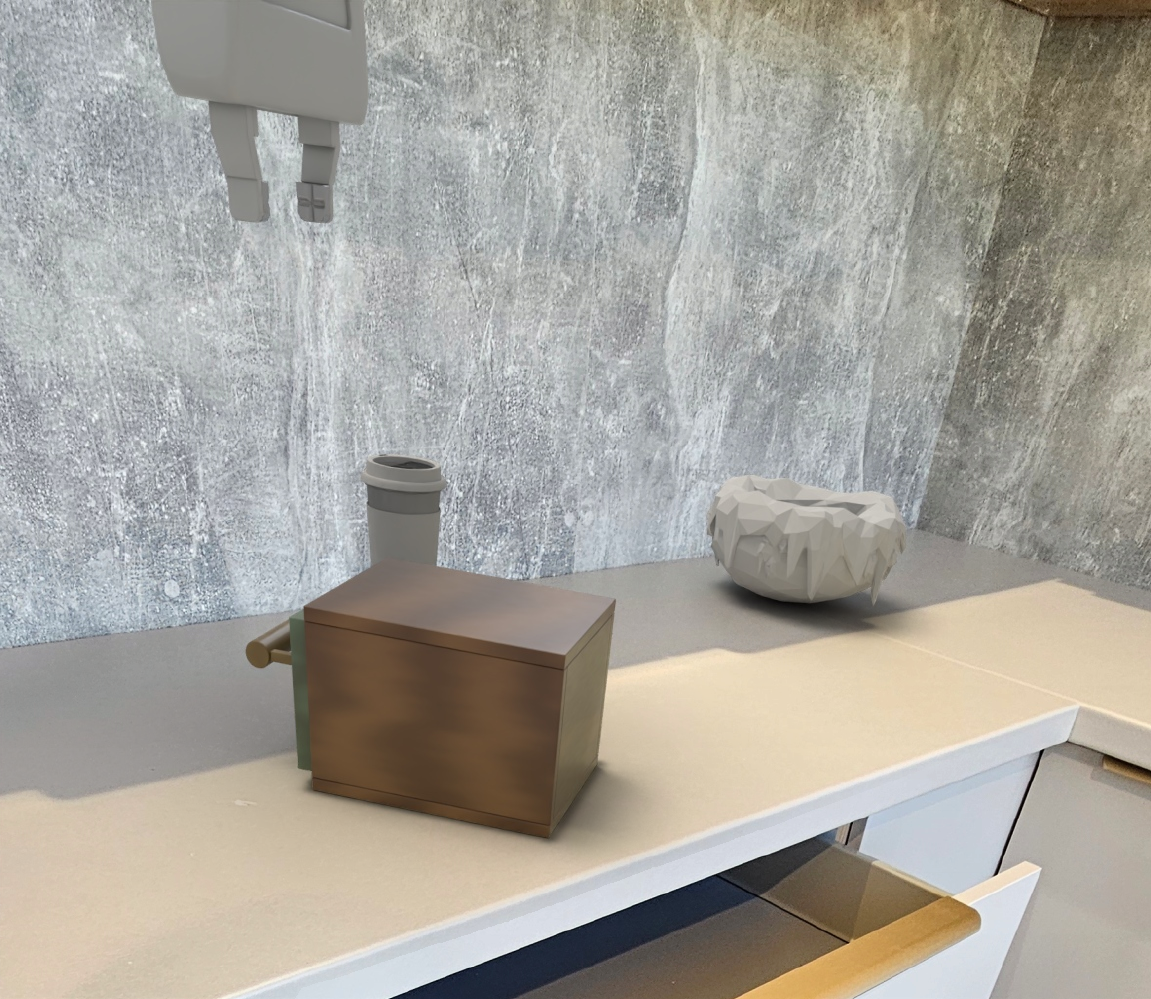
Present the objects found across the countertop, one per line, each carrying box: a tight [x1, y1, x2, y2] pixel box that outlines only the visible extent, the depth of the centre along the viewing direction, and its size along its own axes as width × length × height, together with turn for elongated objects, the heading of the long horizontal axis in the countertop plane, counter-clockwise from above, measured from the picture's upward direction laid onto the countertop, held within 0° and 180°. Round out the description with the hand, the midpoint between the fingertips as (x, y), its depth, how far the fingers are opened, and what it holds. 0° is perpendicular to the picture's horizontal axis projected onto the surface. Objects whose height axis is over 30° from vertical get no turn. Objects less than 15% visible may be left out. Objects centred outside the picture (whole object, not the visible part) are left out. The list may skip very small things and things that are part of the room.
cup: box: [360, 453, 448, 567], centre depth 97 cm, size 7×7×12 cm
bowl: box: [705, 474, 907, 607], centre depth 118 cm, size 21×20×10 cm
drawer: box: [245, 608, 312, 772], centre depth 74 cm, size 19×12×9 cm, turn 76°
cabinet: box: [302, 557, 617, 839], centre depth 74 cm, size 16×14×11 cm
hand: (285, 222), depth 68 cm, fingers open, 8 cm apart
